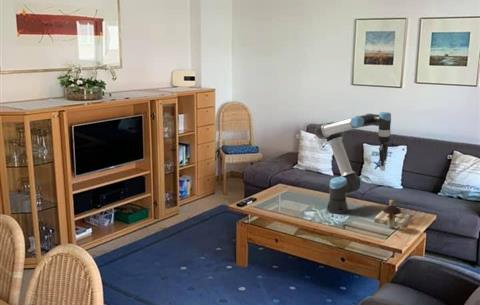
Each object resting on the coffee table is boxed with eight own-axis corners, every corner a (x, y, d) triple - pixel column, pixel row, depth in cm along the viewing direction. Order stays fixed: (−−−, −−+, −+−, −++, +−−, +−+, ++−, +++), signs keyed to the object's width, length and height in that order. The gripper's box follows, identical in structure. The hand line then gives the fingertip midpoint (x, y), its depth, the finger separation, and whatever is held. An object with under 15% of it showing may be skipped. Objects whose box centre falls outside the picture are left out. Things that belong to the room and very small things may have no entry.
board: (373, 222, 327) (374, 218, 327) (382, 214, 342) (382, 210, 341) (401, 227, 318) (401, 222, 317) (408, 219, 332) (409, 214, 332)
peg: (387, 221, 329) (388, 200, 326) (389, 219, 333) (390, 199, 330) (393, 222, 327) (394, 201, 324) (395, 220, 330) (396, 200, 328)
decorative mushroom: (380, 225, 321) (381, 203, 318) (396, 224, 322) (397, 202, 319) (386, 231, 311) (387, 208, 308) (403, 230, 312) (404, 207, 309)
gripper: (386, 137, 320) (385, 173, 325) (392, 134, 331) (391, 169, 336) (375, 136, 324) (374, 171, 329) (381, 133, 335) (380, 167, 340)
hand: (382, 170), depth 332 cm, fingers closed
